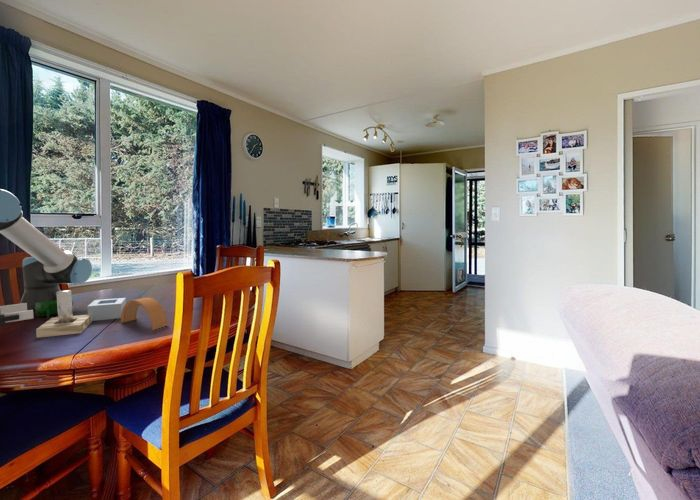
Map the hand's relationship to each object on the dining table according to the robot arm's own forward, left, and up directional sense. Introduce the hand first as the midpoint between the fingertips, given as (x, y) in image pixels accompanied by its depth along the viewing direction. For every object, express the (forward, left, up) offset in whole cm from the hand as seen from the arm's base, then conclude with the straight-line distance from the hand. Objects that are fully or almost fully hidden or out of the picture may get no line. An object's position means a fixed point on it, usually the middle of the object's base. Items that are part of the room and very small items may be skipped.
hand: (30, 310), depth 113 cm
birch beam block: (-4, +8, -9) cm, 13 cm away
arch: (0, +33, -9) cm, 34 cm away
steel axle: (-4, +8, -9) cm, 13 cm away
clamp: (-28, -2, -9) cm, 30 cm away
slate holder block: (-18, +18, -9) cm, 27 cm away
